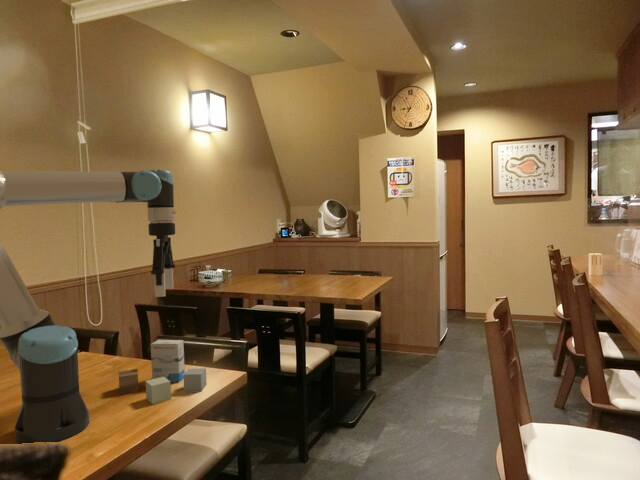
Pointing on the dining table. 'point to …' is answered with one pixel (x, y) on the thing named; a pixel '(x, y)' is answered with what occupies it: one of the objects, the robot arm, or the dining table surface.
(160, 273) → the robot arm
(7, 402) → the dining table surface
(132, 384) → the walnut cube
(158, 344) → the ink box
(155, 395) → the sage cube
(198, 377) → the slate cube
